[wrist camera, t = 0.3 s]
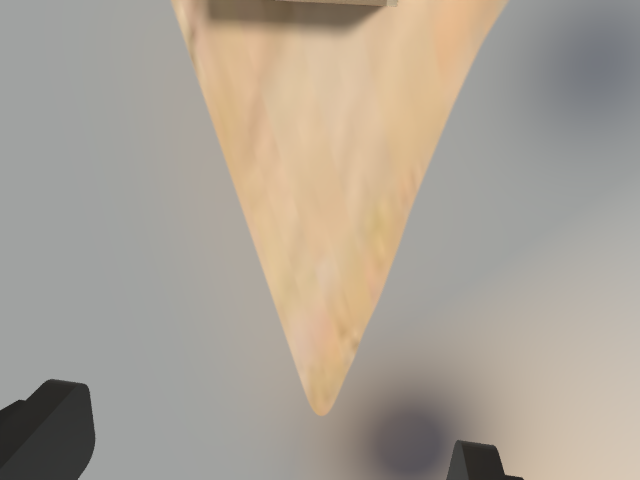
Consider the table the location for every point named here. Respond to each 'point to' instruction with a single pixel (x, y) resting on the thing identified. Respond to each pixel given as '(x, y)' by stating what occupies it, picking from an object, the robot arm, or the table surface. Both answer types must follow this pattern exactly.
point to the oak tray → (354, 2)
